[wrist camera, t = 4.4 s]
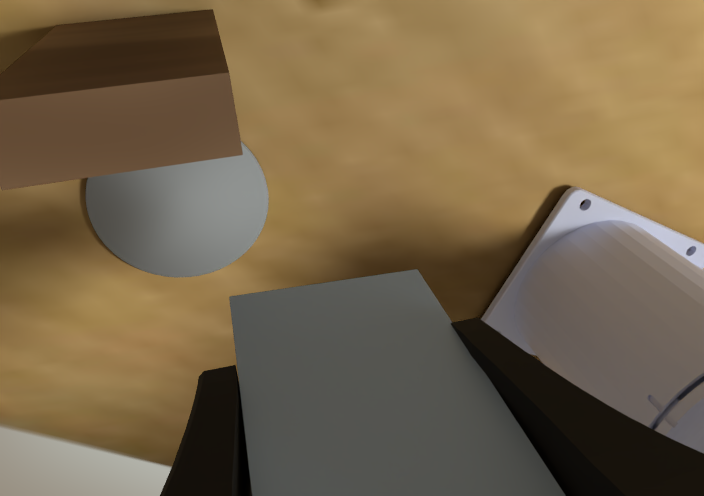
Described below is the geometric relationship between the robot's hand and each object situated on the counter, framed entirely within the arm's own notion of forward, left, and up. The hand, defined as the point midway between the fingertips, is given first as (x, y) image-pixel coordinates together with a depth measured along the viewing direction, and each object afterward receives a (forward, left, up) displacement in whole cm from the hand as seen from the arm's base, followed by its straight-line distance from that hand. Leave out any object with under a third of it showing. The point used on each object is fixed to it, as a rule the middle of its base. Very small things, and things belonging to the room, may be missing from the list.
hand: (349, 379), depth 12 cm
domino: (+6, -3, -10) cm, 12 cm away
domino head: (0, 0, -2) cm, 2 cm away
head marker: (+3, +2, -10) cm, 11 cm away
